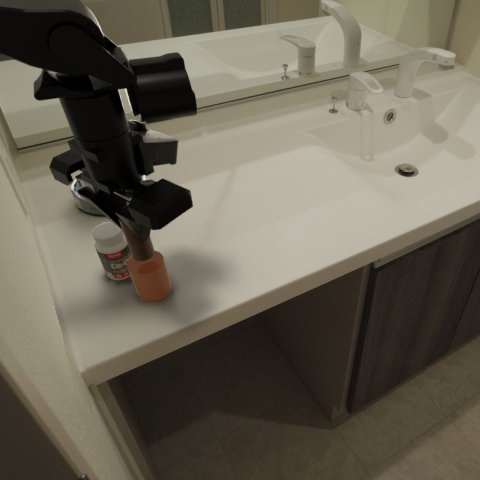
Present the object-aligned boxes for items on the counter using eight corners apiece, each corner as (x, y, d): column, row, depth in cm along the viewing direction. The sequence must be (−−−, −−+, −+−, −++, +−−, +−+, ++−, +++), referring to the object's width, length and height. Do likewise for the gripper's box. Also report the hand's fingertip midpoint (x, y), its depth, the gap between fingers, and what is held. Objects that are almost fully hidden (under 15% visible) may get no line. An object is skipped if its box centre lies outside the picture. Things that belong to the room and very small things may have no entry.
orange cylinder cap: (131, 298, 62) (119, 271, 58) (147, 274, 66) (138, 247, 62) (162, 304, 61) (153, 277, 57) (177, 280, 65) (169, 252, 61)
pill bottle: (118, 285, 64) (101, 245, 58) (100, 271, 66) (82, 231, 60) (144, 268, 67) (130, 228, 61) (127, 255, 69) (112, 215, 63)
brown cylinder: (128, 259, 58) (113, 220, 53) (139, 245, 60) (126, 206, 55) (148, 263, 57) (135, 224, 53) (158, 248, 59) (147, 209, 55)
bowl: (61, 210, 76) (54, 196, 74) (102, 172, 86) (97, 159, 84) (126, 222, 75) (121, 208, 73) (161, 182, 85) (157, 168, 82)
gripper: (215, 125, 48) (230, 228, 58) (107, 85, 54) (137, 184, 65) (137, 168, 40) (169, 277, 51) (23, 116, 47) (72, 222, 58)
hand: (137, 235), depth 56 cm, fingers closed on brown cylinder, 3 cm apart
